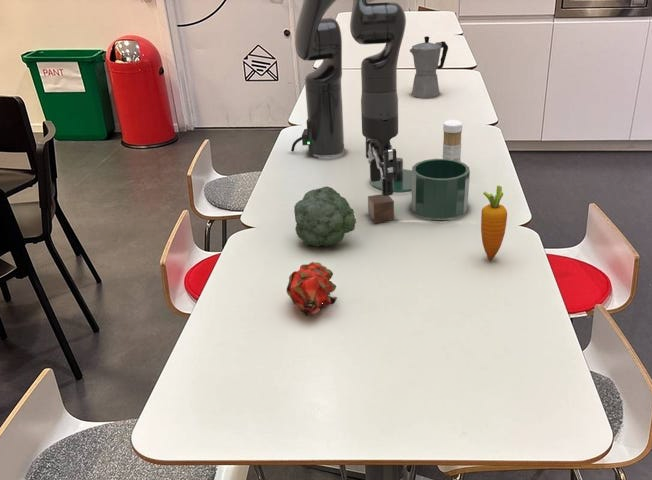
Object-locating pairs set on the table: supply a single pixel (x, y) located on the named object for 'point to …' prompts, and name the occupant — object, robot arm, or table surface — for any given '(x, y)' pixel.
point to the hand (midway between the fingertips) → (381, 187)
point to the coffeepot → (427, 67)
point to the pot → (440, 188)
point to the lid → (398, 179)
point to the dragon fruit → (311, 287)
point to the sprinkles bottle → (452, 140)
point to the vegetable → (323, 217)
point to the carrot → (493, 223)
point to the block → (381, 208)
